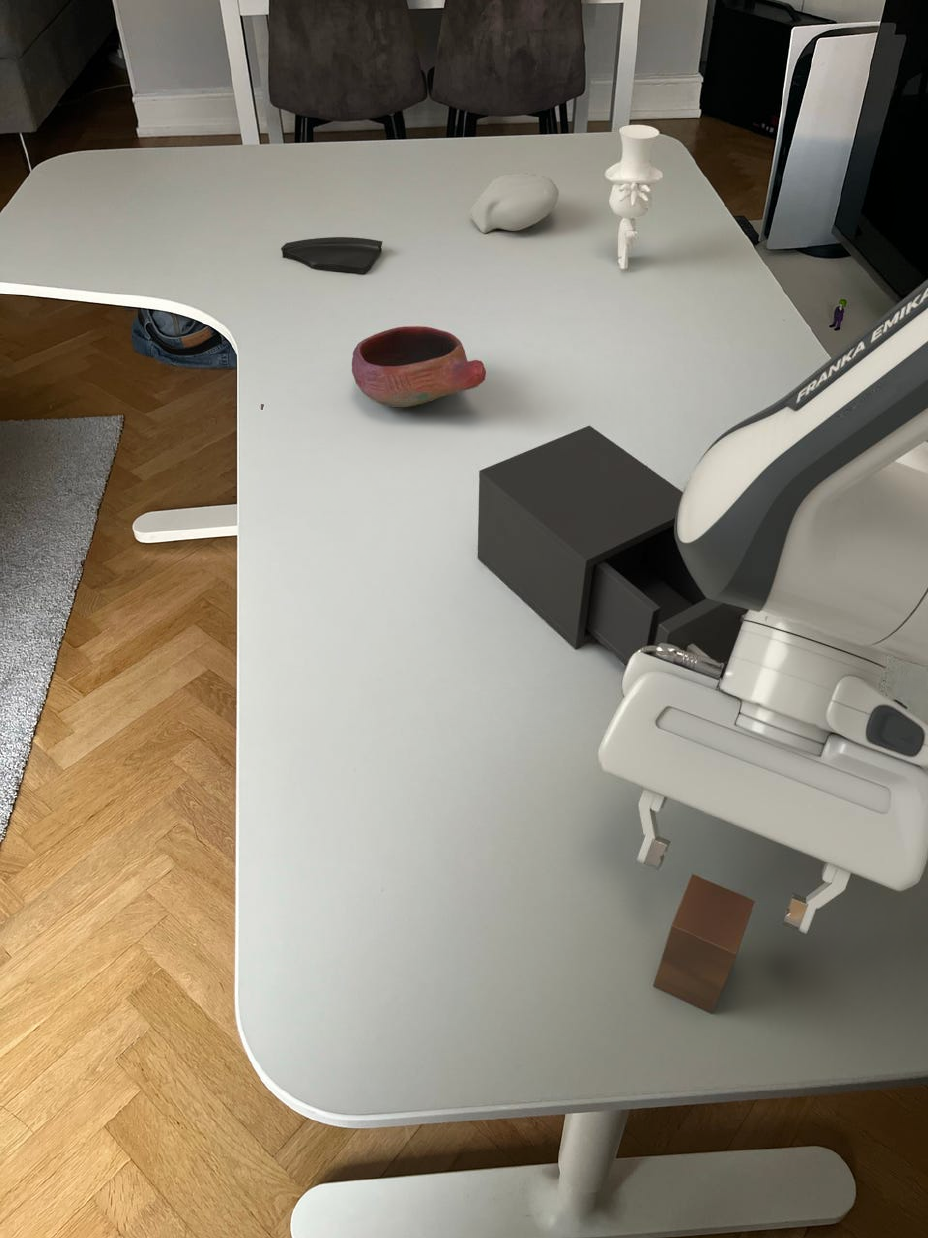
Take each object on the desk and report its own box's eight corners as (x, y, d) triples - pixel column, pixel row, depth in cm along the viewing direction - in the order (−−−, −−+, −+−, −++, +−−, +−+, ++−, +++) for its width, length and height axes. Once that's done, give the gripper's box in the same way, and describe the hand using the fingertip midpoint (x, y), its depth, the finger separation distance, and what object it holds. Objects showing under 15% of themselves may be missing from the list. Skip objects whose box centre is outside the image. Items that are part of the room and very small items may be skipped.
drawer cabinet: (682, 593, 92) (701, 504, 85) (575, 649, 87) (586, 560, 80) (579, 511, 101) (589, 425, 93) (477, 558, 95) (479, 470, 88)
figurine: (652, 283, 137) (672, 146, 124) (596, 281, 137) (611, 144, 125) (647, 250, 145) (665, 118, 132) (594, 248, 145) (608, 116, 132)
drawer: (794, 680, 83) (820, 608, 77) (694, 742, 78) (714, 670, 72) (646, 562, 94) (659, 490, 88) (550, 610, 89) (556, 538, 83)
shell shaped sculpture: (562, 210, 155) (565, 167, 150) (548, 244, 146) (551, 199, 141) (481, 202, 157) (481, 159, 152) (462, 234, 148) (462, 190, 143)
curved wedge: (298, 240, 146) (296, 229, 145) (385, 251, 144) (384, 240, 143) (275, 263, 141) (273, 252, 139) (365, 276, 138) (364, 264, 137)
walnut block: (729, 962, 66) (755, 900, 61) (711, 1014, 64) (736, 955, 58) (672, 936, 67) (692, 873, 62) (652, 986, 65) (671, 925, 59)
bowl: (341, 422, 112) (335, 358, 106) (367, 364, 121) (363, 303, 115) (482, 436, 110) (483, 372, 105) (498, 376, 119) (500, 315, 114)
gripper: (630, 630, 62) (556, 835, 63) (975, 751, 55) (887, 980, 56) (645, 635, 68) (577, 823, 69) (958, 745, 61) (879, 952, 62)
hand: (719, 895), depth 62 cm, fingers open, 8 cm apart
